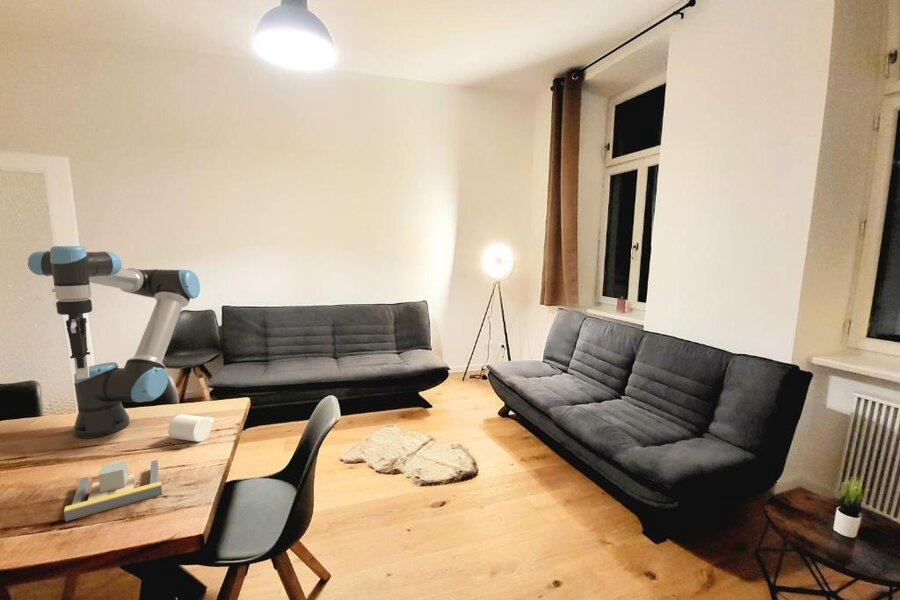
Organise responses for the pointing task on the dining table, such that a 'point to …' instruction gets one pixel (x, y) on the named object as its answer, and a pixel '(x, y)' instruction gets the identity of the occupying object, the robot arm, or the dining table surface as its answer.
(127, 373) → the robot arm
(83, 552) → the dining table surface
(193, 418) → the mug
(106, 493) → the pallet
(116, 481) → the light grey cube
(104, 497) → the dock
